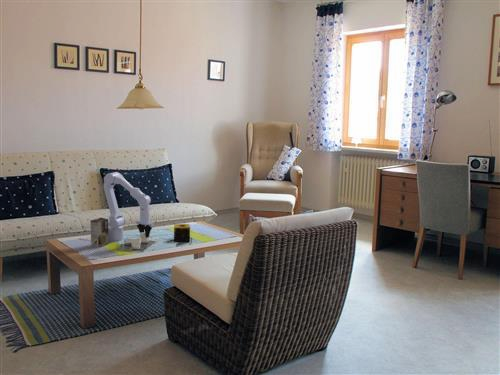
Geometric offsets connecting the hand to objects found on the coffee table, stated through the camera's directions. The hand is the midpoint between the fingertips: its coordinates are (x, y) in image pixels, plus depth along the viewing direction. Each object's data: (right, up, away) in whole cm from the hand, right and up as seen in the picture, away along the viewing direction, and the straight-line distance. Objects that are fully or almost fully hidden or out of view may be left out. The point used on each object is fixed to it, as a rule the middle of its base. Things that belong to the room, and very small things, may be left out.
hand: (144, 236), depth 315 cm
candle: (+21, -4, +13) cm, 25 cm away
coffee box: (-27, -5, -3) cm, 28 cm away
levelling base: (-3, -6, -6) cm, 9 cm away
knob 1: (-3, -6, -13) cm, 15 cm away
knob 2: (0, -4, +1) cm, 4 cm away
